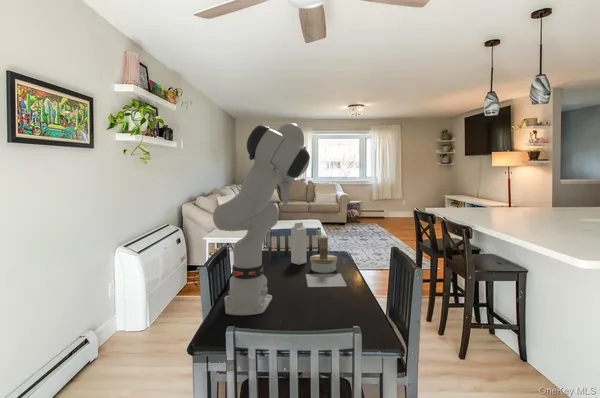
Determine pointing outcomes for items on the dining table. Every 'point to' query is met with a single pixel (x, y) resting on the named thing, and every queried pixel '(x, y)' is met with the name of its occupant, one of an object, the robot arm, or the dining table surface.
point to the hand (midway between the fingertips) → (285, 207)
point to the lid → (323, 253)
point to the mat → (325, 280)
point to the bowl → (323, 267)
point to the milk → (298, 244)
